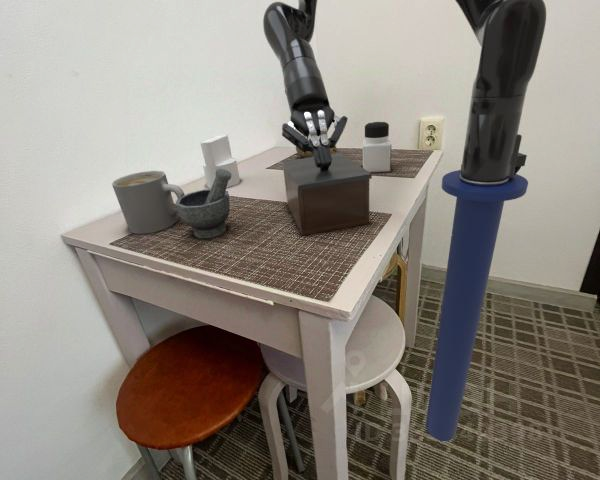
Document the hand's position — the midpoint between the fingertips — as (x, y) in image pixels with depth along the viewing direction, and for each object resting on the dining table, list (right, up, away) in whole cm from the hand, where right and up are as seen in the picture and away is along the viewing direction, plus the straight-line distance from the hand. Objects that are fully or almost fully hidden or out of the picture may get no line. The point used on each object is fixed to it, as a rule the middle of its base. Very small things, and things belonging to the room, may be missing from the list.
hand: (325, 167), depth 58 cm
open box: (0, -8, +7) cm, 11 cm away
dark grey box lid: (0, 0, +3) cm, 3 cm away
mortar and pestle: (-21, -11, +5) cm, 25 cm away
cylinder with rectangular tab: (-26, +3, +33) cm, 42 cm away
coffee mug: (-34, -10, +11) cm, 37 cm away
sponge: (+1, +14, +48) cm, 50 cm away
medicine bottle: (+16, +6, +31) cm, 36 cm away
